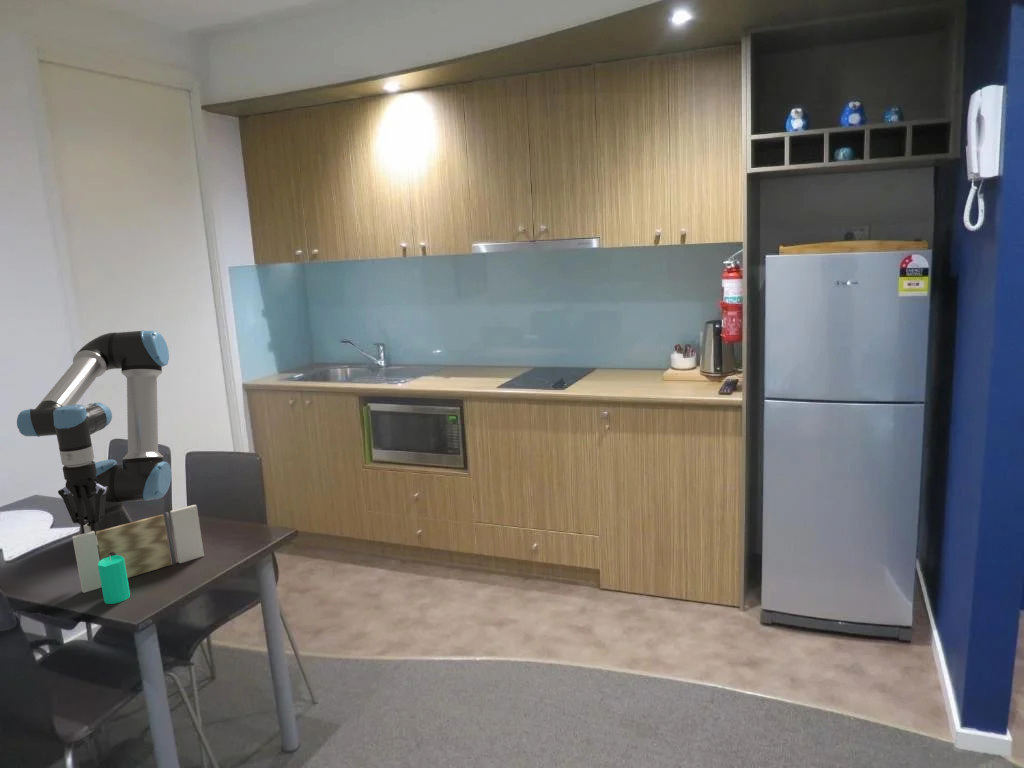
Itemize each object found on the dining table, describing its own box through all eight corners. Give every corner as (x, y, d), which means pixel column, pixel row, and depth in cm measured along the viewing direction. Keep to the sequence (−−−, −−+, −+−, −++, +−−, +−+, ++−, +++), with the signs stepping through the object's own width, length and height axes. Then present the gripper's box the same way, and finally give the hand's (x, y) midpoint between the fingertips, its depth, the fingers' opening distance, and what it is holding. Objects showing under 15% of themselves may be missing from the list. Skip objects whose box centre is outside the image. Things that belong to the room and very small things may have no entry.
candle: (110, 593, 190) (103, 550, 188) (134, 591, 191) (127, 549, 188) (99, 604, 184) (92, 561, 182) (124, 602, 185) (116, 558, 182)
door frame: (82, 590, 193) (72, 536, 190) (202, 554, 212) (195, 504, 209) (83, 592, 191) (73, 538, 188) (204, 555, 211) (196, 505, 208)
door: (170, 563, 206) (162, 514, 203) (173, 566, 204) (165, 516, 201) (104, 583, 196) (95, 531, 193) (107, 586, 194) (97, 534, 191)
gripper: (45, 468, 190) (61, 552, 195) (92, 466, 189) (107, 551, 194) (64, 459, 197) (79, 541, 202) (110, 458, 196) (124, 540, 201)
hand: (93, 546), depth 198 cm, fingers closed
